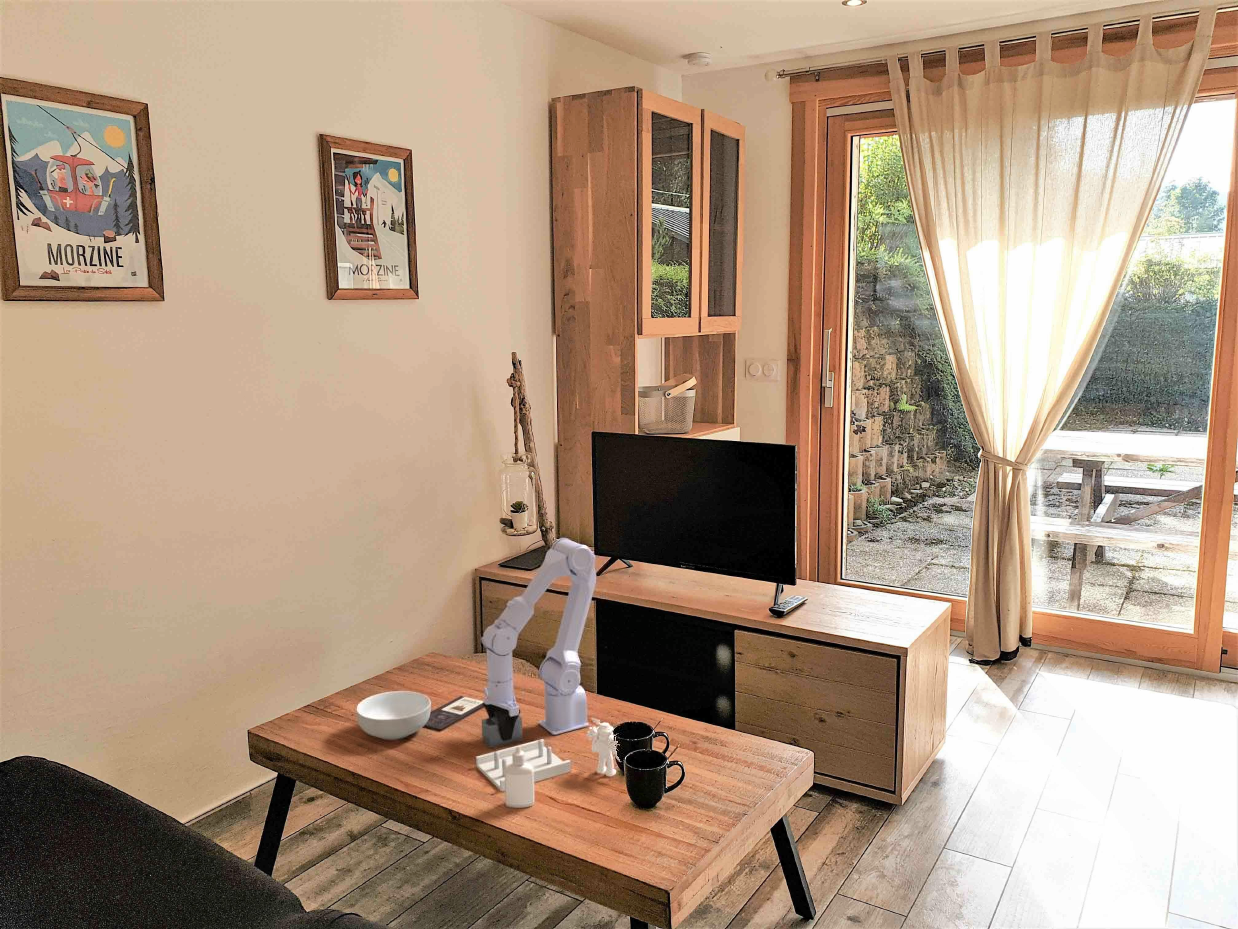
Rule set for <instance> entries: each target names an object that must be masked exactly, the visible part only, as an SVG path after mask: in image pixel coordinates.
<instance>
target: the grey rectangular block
mask: <svg viewBox="0 0 1238 929" xmlns="http://www.w3.org/2000/svg"><path fill="white" fill-rule="evenodd" d="M522 719H523V718H522V717H521V716H520V715H519V716H518V718H517V720H516V723H515V726H514V730H513V735H512V739H510V740H506V741H503V740H502V738H501V733H500V726H499V723H498V720H497V717H496V716H495V717H491V718H489V717H487V718H483V719H481V739H482V740H481V741H482V744H484V746H486V747H487V748H488V749H489V750H491V749H495V748H499V747H503V746H507V745H511V744H515V743H518V742H523V720H522Z"/></svg>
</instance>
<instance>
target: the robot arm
mask: <svg viewBox="0 0 1238 929" xmlns="http://www.w3.org/2000/svg"><path fill="white" fill-rule="evenodd" d="M596 559H597V557H596V555H595V554H594V552H593V551H592V550H591V548H590V547H589V546H588V545H585V544H580V543H577V542H575V541H574V540H573V541H572V539H570V538H567V537H561V538H559V539H557V540H555V541H554V543H553V544H552V546H551V548H549V549H548V550H547V551H546V554H545V557H544V560H543V562H542V564H541V565H540V567H539V569H538V570H537V571H536V573H535V575H534V576H533V578H532V579H531V581H530V583H529V584H528V586H527V587H526V589H525V590H524V592H523V593H522V595H519V596H516V597H513V598H512V600H508V602H507V603H506V608H505V609H504V610H503V611H502V613H501V614H500V615H499V617H498V618H497V619H495V620H494V622H493V624H492V625H489V626H488V627H487V628H486V629H485V630H484V632H483V636H481V638H480V639H481V643H482V644H483V646H484V647H485V648H486V671H487V674H486V677H487V686H485V687H483V689H484V690H483V691H484V694H483V695H484V696H485V697H486V698H484V699H483V700H482V701H483V706H484V708H483V709H484V710H485V711H486V713H487V715H488V716H487V717H488V718H491V717H495V716H496V717H497V720H498V723H499V726H500V733H501V738H502V740H503V741H506V740H510V739H512V735H513V730H514V726H515V723H516V720H517V718H518V716H520V715H521V709H520V706H519V705H518V704H517V700H516V696H515V694H514V693H515V692H514V668H513V666H514V665H513V651H514V649H516V647H517V643H518V637H519V635H520V633H521V631H522V630H523V629H524V627H525V626H526V624H527V623H528V622H529V620H531V618H532V617H533V615H534V614H535V607H534V606H535V604H536V603H537V601H538V600H540V598H541V597H542V595H543V594H544V593H545V592H546V591H547V589H548V588H549V587H550V586H551V584H552V583H554V581H555V580H556V579H557V578H562V577H567V576H568V578H569V579H570V580H571V585H570V589H569V590H568V591H569V592H568V595H567V599H566V603H565V607H564V610H563V614H562V618H561V622H560V624H559V628H558V629H559V630H558V631H557V632H558V633H557V636H556V640H555V642H554V646H553V647H552V648H550V649H549V650H548V651H547V653H546V657H545V658H544V660H543V661H542V662H541V664H540V665H539V666H540V667H539V671H538V672H539V673H538V674H539V675H538V676H539V678H540V680H542V682H544V715H545V716H544V717H545V718H544V720H540V721H538V725H539V726H541V727H542V728H544V729H545V730H546V731H548V732H549V733H550V734H551V735H554V736H555V735H560V734H563V733H567V732H571V731H575V730H578V729H582V728H586V727H589V726H590V725H589V722H588V701H587V700H588V699H587V695H586V692H585V689H584V687H583V686H582V685H580V683H581V674H580V670H581V666H582V664H581V661H580V657H579V654H578V650H579V648H580V643H581V639H582V636H583V632H584V628H585V624H586V621H587V618H588V615H589V614H588V613H589V609H590V606H591V602H592V598H593V596H594V590H595V587H596V583H597V572H596V567H595V562H596Z"/></svg>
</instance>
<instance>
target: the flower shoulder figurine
mask: <svg viewBox="0 0 1238 929" xmlns="http://www.w3.org/2000/svg"><path fill="white" fill-rule="evenodd" d="M590 719H591V720H592V721H593V722H592V723H595V724H596V725H595V726H592V727H591V726H590V727H588V729H589V730H586V736H587V739H588V740H589V741H591V752H592V753H597V754H598V765H597V770H596V773H597V774H599V775H600V774H605V776H606V777H613V776H615V775H616V774H617V770H616V769H614V768H615V767H614V758H613V754H614V756H615V758H616V759H617V760H618V762H620V763H621V761H620V759H619V757H618V756H617V751H616V749H617V746H618V745H619V744H617V743H618V741H616V737H615V741H614V736H616V735H617V734H618V733H616V734H614V732H613V730H614V727H613V726H612V725H610V724H609V723H608V722H602V723H601V720H600V719H597V718H594V717H590ZM597 725H598V726H597ZM596 726H597V727H596ZM615 745H616V746H615Z"/></svg>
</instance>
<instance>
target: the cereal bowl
mask: <svg viewBox="0 0 1238 929" xmlns="http://www.w3.org/2000/svg"><path fill="white" fill-rule="evenodd" d="M431 709H432V701H431V699H430V698H429V697H428V696H427V695H425V694H423V693H421V692H420V693H419V692H416V691H410V690H406V691H405V690H397V691H396V690H394V691H386V692H381V693H377V694H373V695H371V696H369V697H367V698H364V699H363V700H361V701H360V702H359V703H358V705H357V706H356V709H355V712H356V713H355V714H356V719H357V723H358V725H359V727H360V729H362V730H363V732H365V733H366V734H368V735H369V736H373V737H376V738H380V739H382V740H387V741H388V740H390V741H392V740H393V741H395V740H400V739H404V738H406V737H409V736H410V735H412V734H413V735H414V734H415V733H416V732H418V731H420V730H421V729H422V728H424V727H423V726H424V725H425V724H426V723H427V721H428V719H429V717H430V712H431V711H432V710H431Z"/></svg>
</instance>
